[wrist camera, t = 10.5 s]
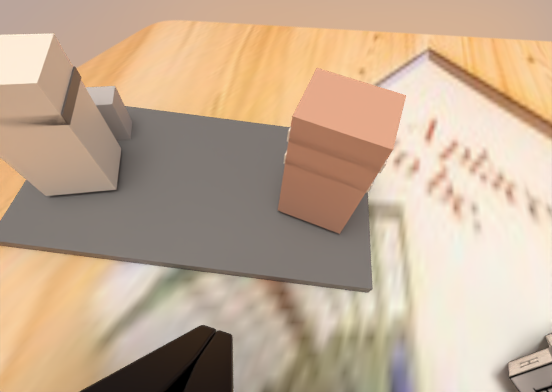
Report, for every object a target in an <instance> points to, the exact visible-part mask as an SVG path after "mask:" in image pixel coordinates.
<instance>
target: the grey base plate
mask: <svg viewBox="0 0 552 392" xmlns="http://www.w3.org/2000/svg"><path fill="white" fill-rule="evenodd" d="M86 89H87V91H88V93H89V94H90V96H91V98H92V100H93V101H94V103H95V105H96V106H97V108H98V110H99V112H100V113H101V115H102V117H103V118H104V120H105V122H106V123H107V125H108V127H109V129H110V130H111V132H112V134H113V135H114V137H115V139H116V141H117V142H118V144H119V146H120V147H121V156H120V164H119V172H118V180H117V189H116V190H107V191H96V192H85V193H74V194H63V195H52V196H45V195H44V194H43V193H42V192H40V191H39V190H38V189H37V188H36V187H35V186H33V185H32V184H31V183H30V182H29V181H27V180H26V181H25V183H24V184H23V186H22V187H21V189H20V191H19V192H18V194H17V195H16V197H15V199H14V200H13V202H12V203H11V205H10V207H9V208H8V210H7V211H6V213H5V215H4V216H3V218H2V219H1V221H0V245H2V246H10V247H17V248H25V249H33V250H41V251H49V252H56V253H64V254H72V255H80V256H88V257H95V258H103V259H111V260H119V261H127V262H134V263H142V264H150V265H158V266H166V267H173V268H181V269H189V270H197V271H205V272H212V273H220V274H228V275H236V276H244V277H251V278H259V279H267V280H275V281H283V282H290V283H298V284H306V285H314V286H322V287H329V288H337V289H345V290H353V291H361V292H369V291H370V290H372V271H371V251H370V231H369V211H368V193H365V195H364V196H363V198H362V199H361V201H360V203H359V204H358V206H357V207H356V209H355V211H354V212H353V214H352V215H351V217H350V218H349V220H348V222H347V223H346V225H345V226H344V228H343V230H342V231H341V233H340V234H339V233H336V232H333V231H331V230H328V229H325V228H323V227H320V226H317V225H315V224H312V223H310V222H307V221H304V220H302V219H299V218H296V217H294V216H291V215H288V214H286V213H283V212H280V211H278V205H279V199H280V192H281V186H282V180H283V173H284V167H285V163H284V156H285V153H286V151H287V148H288V141H287V136H288V130H289V128H290V127H283V126H275V125H267V124H259V123H252V122H244V121H236V120H229V119H221V118H213V117H206V116H198V115H190V114H182V113H175V112H167V111H159V110H152V109H144V108H136V107H128V106H124V104H123V102H122V100H121V97H120V95H119V93H118V91H117V89H116V87H115V86H107V87H86Z"/></svg>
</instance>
